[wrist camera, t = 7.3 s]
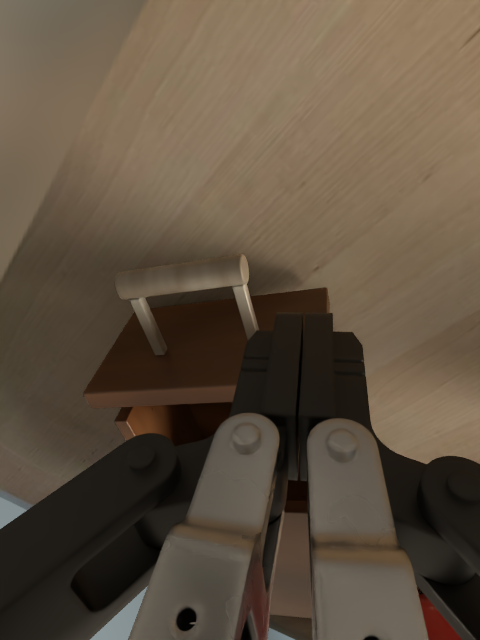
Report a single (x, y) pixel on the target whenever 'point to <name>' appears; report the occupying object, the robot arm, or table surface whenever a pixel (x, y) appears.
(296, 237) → the table surface
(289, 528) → the cabinet
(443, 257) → the table surface
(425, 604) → the mixing bowl
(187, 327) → the drawer
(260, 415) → the robot arm
